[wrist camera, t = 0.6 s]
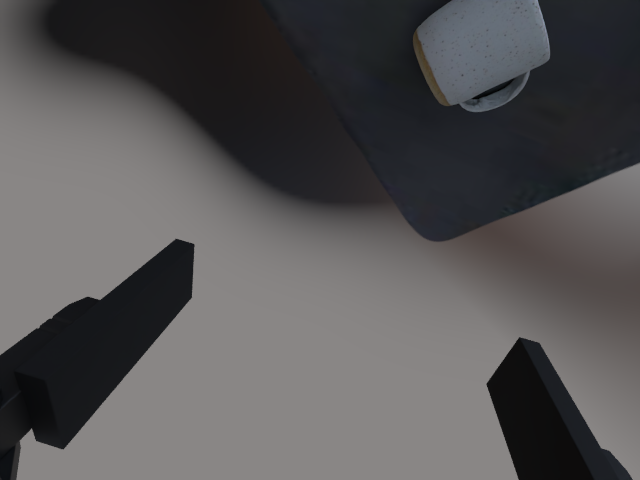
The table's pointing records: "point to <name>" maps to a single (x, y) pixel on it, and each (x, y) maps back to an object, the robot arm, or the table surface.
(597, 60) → the table surface
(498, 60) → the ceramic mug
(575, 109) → the table surface
